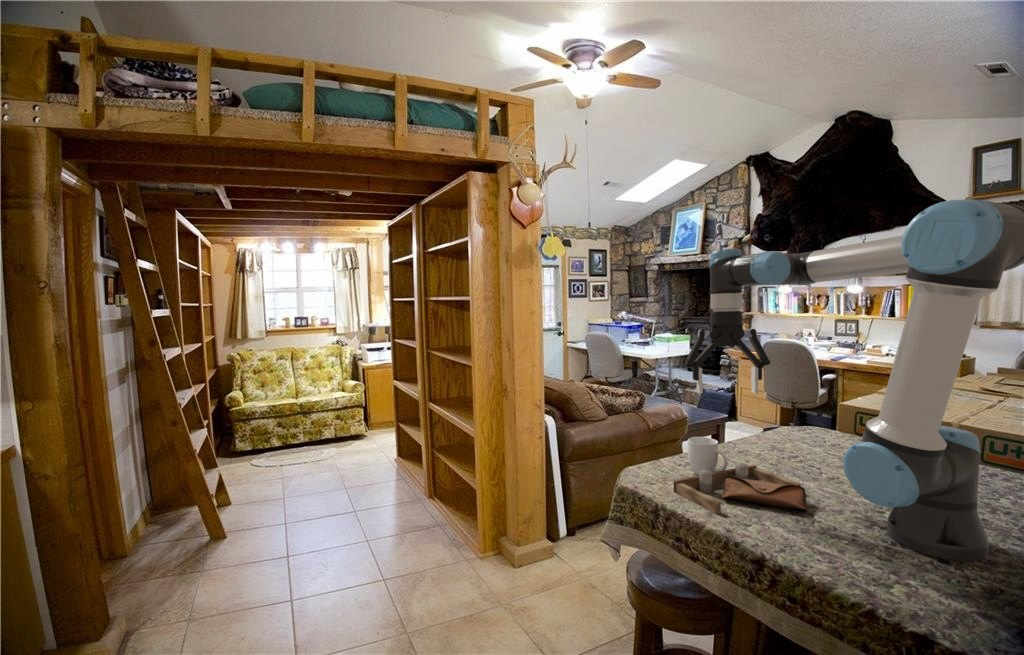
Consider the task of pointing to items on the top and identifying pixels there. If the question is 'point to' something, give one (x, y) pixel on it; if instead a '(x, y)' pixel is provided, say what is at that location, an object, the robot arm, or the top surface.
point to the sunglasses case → (765, 492)
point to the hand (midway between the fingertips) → (727, 392)
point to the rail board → (709, 479)
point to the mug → (704, 454)
